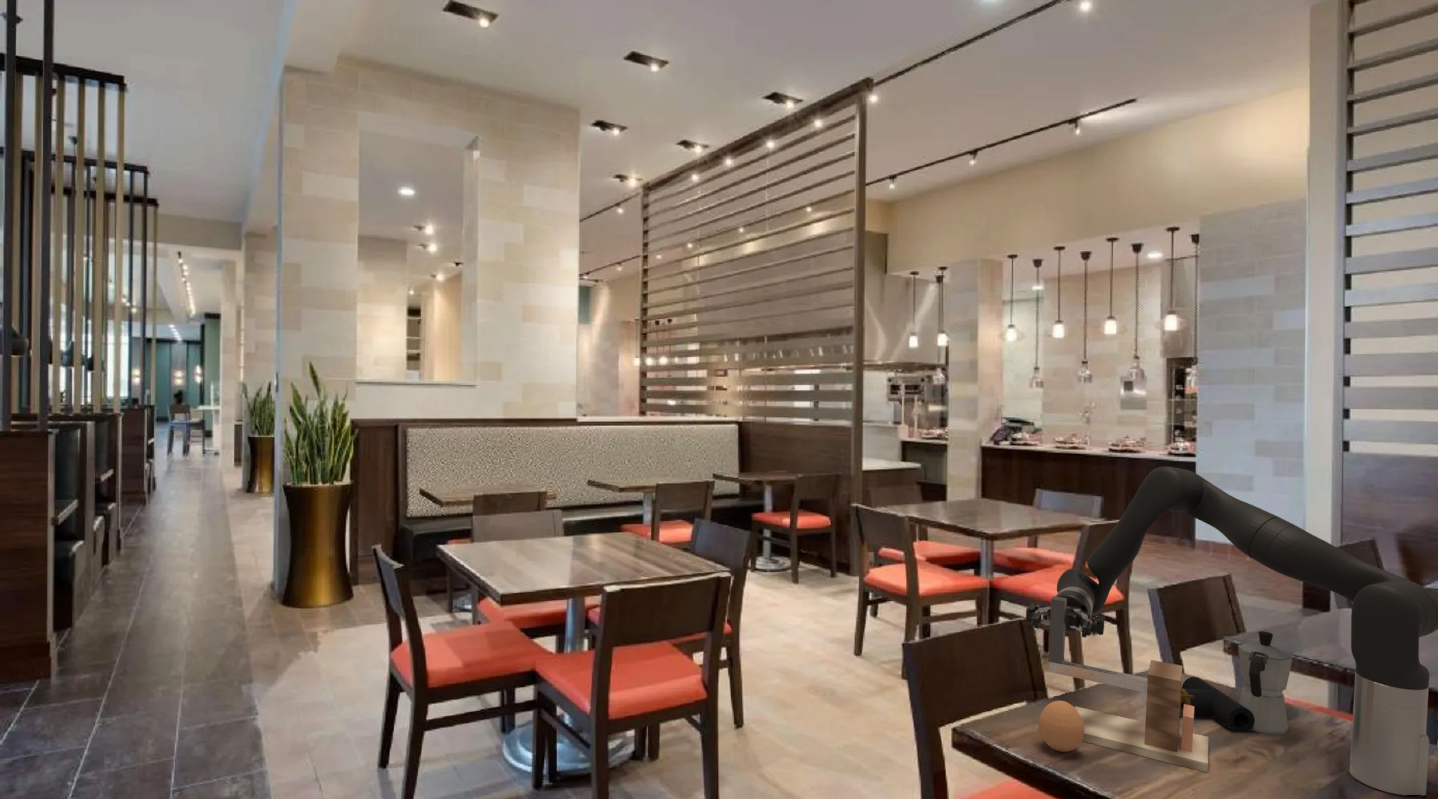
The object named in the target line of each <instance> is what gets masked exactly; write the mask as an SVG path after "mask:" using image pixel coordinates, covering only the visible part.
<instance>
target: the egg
mask: <svg viewBox="0 0 1438 799" xmlns="http://www.w3.org/2000/svg"><path fill="white" fill-rule="evenodd" d="M1038 731H1039V733H1040V736H1041V738H1042V740H1043V741H1044V742H1045V743H1046V745H1047V746H1049V747H1050V748H1051V749H1053V750H1055V751H1058V752H1064V753H1067V752H1071V751H1073V750H1075V749H1077V748H1078V747H1079V746H1080V745H1081V744H1082V742H1083V741H1082V740H1083V737H1084V725H1083V721H1082V719H1081V716H1080V715H1079V713H1078V711H1077V710H1076V709H1075V707H1074V706H1073V705H1072V704H1070V703H1069V702H1067V701H1064V700H1054V701H1052V702H1050V703H1049V704H1047V705H1046V706H1045V707H1044V708H1043V710H1042V712H1041V713H1040V715H1039V718H1038Z"/></svg>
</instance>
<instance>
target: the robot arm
mask: <svg viewBox="0 0 1438 799" xmlns="http://www.w3.org/2000/svg"><path fill="white" fill-rule="evenodd" d="M1167 512H1173V513H1178V514H1179V513H1180V514H1184V515H1187V516H1189V517H1191V518H1195V519H1196V520H1199V521H1200V522H1203V523H1204V524H1206V525H1209V526H1211V527H1212V528H1214V529H1215V530H1218V532H1219V533H1221V534H1222V535H1223V536H1224V537H1225V538H1226V539H1227V540H1228V541H1229V542H1230V543H1231V544H1232V545H1233V546H1234V547H1235V548H1237V549H1238V550H1239V551H1240V552H1242V553H1243V554H1244V555H1246V556H1247V557H1249V558H1251V559H1252V560H1254V561H1256V562H1258V563H1259V564H1261V565H1263V566H1265V567H1267V569H1269V570H1272V571H1274V572H1276V573H1278V574H1281V575H1283V576H1285V577H1288V578H1290V579H1293V580H1297V581H1299V582H1302V583H1306V584H1308V585H1312V586H1316V587H1319V588H1321V589H1325V590H1328V591H1330V592H1333V593H1335V594H1338V595H1340V596H1342V597H1344V598H1346V599H1347V600H1350V602H1352V606H1351V612H1350V613H1351V615H1350V618H1351V620H1350V624H1351V625H1350V648H1351V655H1352V657H1353V660H1354V662H1355V672H1354V673H1355V675H1354V690H1353V692H1354V693H1353V706H1352V708H1353V709H1352V710H1353V711H1352V727H1351V740H1350V741H1351V743H1350V758H1349V773H1350V775H1351V776H1352V777H1353V778H1354V779H1356V780H1357V781H1358V782H1360V783H1362V784H1364V785H1365V786H1369V787H1371V788H1374V789H1377V790H1380V791H1383V792H1386V793H1390V794H1395V795H1400V796H1407V795H1426V796H1427V785H1428V784H1427V782H1428V771H1429V770H1428V767H1429V766H1428V765H1429V752H1430V738H1429V736H1428V735H1427V719H1428V702H1429V686H1430V672H1429V669H1428V668H1427V667H1426V666H1424V665H1423V664H1422V663H1421V662H1420V654H1419V653H1420V638H1421V637H1425V636H1428V635H1431V634H1433V633H1434V632H1436V631H1438V598H1437V597H1436V596H1435V595H1434V594H1433V592H1431V591H1429V589H1427V588H1425V587H1424V586H1422V585H1421V584H1419V583H1417V582H1415V581H1412V580H1409V579H1408V578H1404V577H1402V576H1401V575H1400V576H1399V575H1398V574H1395V573H1392V572H1389V571H1387V570H1385V569H1382V568H1379V567H1378V566H1375V565H1372V564H1370V563H1367V562H1366V561H1363V560H1362V559H1359V558H1357V557H1355V556H1353V555H1352V554H1349V553H1348V552H1345V550H1342V549H1340V548H1338V547H1337V546H1335V545H1333V544H1331V543H1330V542H1327V541H1325V540H1323V539H1321V538H1319V537H1318V536H1316V535H1314V534H1312V533H1310V532H1308V531H1307V530H1305V529H1304V528H1301V527H1300V526H1298V525H1295V524H1294V523H1293V522H1289V521H1288V520H1286V519H1285V518H1284V519H1283V518H1282V517H1280V516H1278V515H1275V514H1273V513H1272V512H1269V511H1266V510H1265V509H1262V508H1260V507H1258V506H1256V505H1254V504H1252V503H1251V504H1250V503H1248V502H1246V501H1243V500H1241V499H1238V498H1237V497H1234V496H1233V495H1231V494H1229V493H1227V492H1226V491H1224V490H1223V489H1221V488H1219V487H1218V486H1216V485H1215V484H1214V483H1211V482H1210V481H1208V480H1207V479H1205V478H1204V477H1202V476H1201V475H1199V474H1197V473H1196V472H1194V471H1191V470H1189V469H1185V468H1179V467H1173V466H1159V467H1157V468H1156V467H1155V469H1153V470H1151V471H1150V472H1149V473H1148V474H1147V476H1146V477H1145V478H1144V480H1143V481H1142V482H1141V484H1140V486H1139V488H1138V489H1137V491H1136V493H1135V494H1134V496H1133V498H1132V499H1131V501H1130V503H1129V504H1128V506H1127V508H1126V509H1125V511H1124V512H1123V514H1122V516H1121V517H1120V519H1119V520H1118V521H1117V523H1116V525H1115V526H1114V527H1113V528H1112V530H1111V531H1110V532H1109V534H1108V535H1106V537H1105V538H1104V540H1102V542H1101V543H1100V544H1099V545H1098V546H1097V547H1096V549H1095V550H1093V552H1092V553H1091V554H1090V555H1089V557H1088V558H1087V559H1086V560H1087V561H1086V565H1087V567H1088V569H1089V570H1090V571H1091V573H1092V574H1093V575H1094V577H1095V578H1096V579H1097V582H1096V581H1095V580H1094V579H1093V578H1092V577H1090V576H1089V575H1087V574H1086V573H1085V572H1083V571H1082V570H1080V569H1078V568H1069V569H1067V570H1065V571H1064V572H1063V573H1061V575H1060V577H1059V578H1058V580H1057V582H1056V592H1057V593H1056V595H1055V596H1056V597H1062V598H1067V607H1066V628H1065V631H1069V632H1074V631H1079V632H1081V637H1082V638H1084V639H1085V638H1087V637H1088V636H1090V637H1091V635H1092V634H1093V633H1094V632H1095V633H1096V634H1097V635H1099V636H1103V635H1104V631H1105V618H1106V616H1105V615H1104V614H1102V613H1099V614H1097V615H1095V616H1092V615H1093V614H1096V613H1098V612H1100V611H1101V610H1102V609H1103V607H1104V606H1105V604H1106V602H1107V599H1108V597H1109V594H1110V591H1111V589H1112V588H1113V586H1114V584H1115V583H1116V581H1117V580H1118V578H1119V577H1120V576H1121V575H1122V574H1123V573H1124V572H1125V570H1126V569H1127V568H1128V567H1129V566H1130V565H1131V564H1132V562H1134V560H1135V559H1136V557H1137V556H1138V554H1139V552H1140V550H1141V548H1142V544H1143V541H1144V539H1145V537H1146V534H1147V532H1148V530H1149V529H1150V528H1151V527H1152V525H1153V524H1154V523H1155V522H1156V521H1157V520H1158V519H1159V518H1160V517H1162V516H1163V515H1165V513H1167ZM1025 610H1026V611H1025V622H1028V623H1030V622H1031V626H1033V627H1034V629H1038V630H1039V628H1040V627H1041V625H1045V626H1047V627H1048V626H1049V627H1050V615H1051V603H1050V604H1049V605H1048V606H1045V607H1040V605H1039V603H1037V602H1032V603H1031V604H1029V605H1028V606H1027V607H1026V608H1025Z"/></svg>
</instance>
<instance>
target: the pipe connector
mask: <svg viewBox="0 0 1438 799" xmlns="http://www.w3.org/2000/svg"><path fill="white" fill-rule="evenodd" d="M1184 704H1186V705H1190V706H1194V717H1203V718H1214V719H1215V720H1216V721H1218V722H1219V723H1221V724H1222V725H1223V726H1225V727H1226V728H1228V729H1229V730H1231V732H1233V733H1249V732H1250V731H1252V730H1251V729H1252V728H1253V726H1254V722H1255V718H1254V715H1253V713H1252V712H1251V711H1250V710H1248V709H1247V708H1245V707H1244V706H1242V705H1241V704H1239V701H1238V702H1237V701H1236V700H1235V699H1233V698H1232V697H1230V696H1228V695H1227V694H1225V693H1224V692H1222V691H1220V690H1219V689H1217V688H1215V687H1214V686H1212V685H1211V684H1209V683H1208V682H1206V681H1205V680H1204V679H1202V678H1201V677H1198V676H1191V677H1188V678H1186V679H1185V680H1184V681H1183V683H1182V685H1181V704H1180V717H1183V709H1184Z"/></svg>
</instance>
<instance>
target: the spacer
mask: <svg viewBox="0 0 1438 799" xmlns="http://www.w3.org/2000/svg"><path fill="white" fill-rule="evenodd" d="M1194 718H1195V716H1194V706H1190V705H1186V704H1184V709H1183V716H1182V724H1181V725H1182V727H1181V731H1182V742H1181V750H1183V751H1188V752H1192V742H1193V733H1194V721H1195V720H1194Z"/></svg>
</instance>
